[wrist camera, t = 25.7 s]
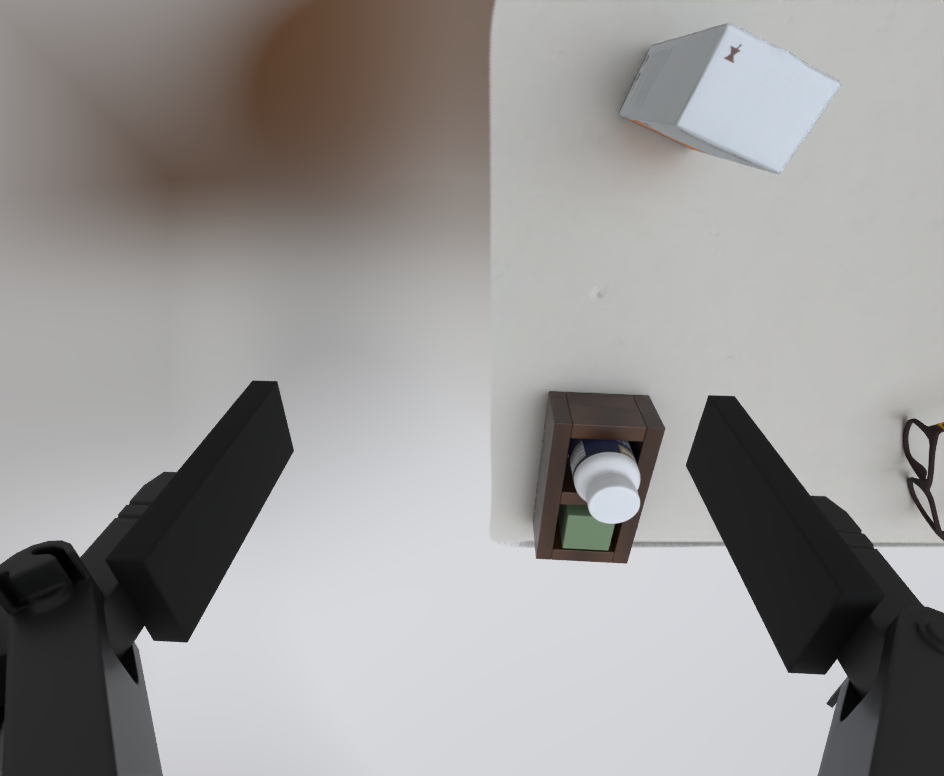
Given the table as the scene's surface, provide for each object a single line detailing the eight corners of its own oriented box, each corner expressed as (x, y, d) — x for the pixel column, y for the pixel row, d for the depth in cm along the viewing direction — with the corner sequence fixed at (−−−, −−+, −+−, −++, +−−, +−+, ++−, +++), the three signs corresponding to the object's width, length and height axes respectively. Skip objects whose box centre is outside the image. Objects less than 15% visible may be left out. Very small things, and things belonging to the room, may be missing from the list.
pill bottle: (632, 416, 45) (663, 489, 36) (608, 459, 47) (631, 537, 39) (577, 401, 44) (596, 472, 36) (556, 446, 47) (568, 522, 38)
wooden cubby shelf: (532, 521, 52) (535, 558, 48) (548, 391, 44) (554, 423, 39) (616, 525, 52) (627, 563, 48) (649, 395, 43) (665, 428, 39)
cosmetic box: (615, 116, 32) (670, 125, 22) (650, 43, 30) (729, 16, 20) (694, 153, 33) (781, 178, 23) (733, 85, 31) (848, 78, 21)
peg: (556, 506, 51) (562, 548, 46) (561, 475, 49) (568, 515, 44) (598, 508, 51) (608, 550, 46) (605, 477, 48) (616, 517, 44)
